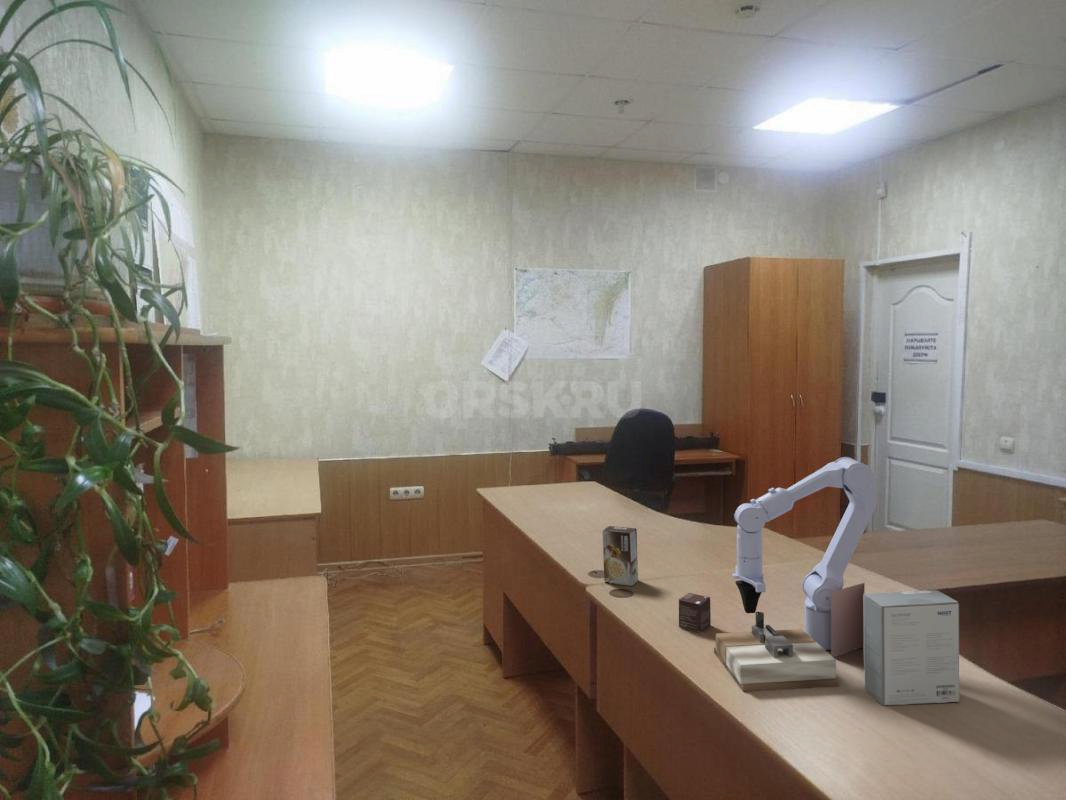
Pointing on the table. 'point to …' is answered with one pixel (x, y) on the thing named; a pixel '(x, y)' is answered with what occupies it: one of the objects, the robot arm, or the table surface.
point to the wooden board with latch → (775, 660)
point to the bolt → (762, 624)
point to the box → (694, 612)
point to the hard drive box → (911, 647)
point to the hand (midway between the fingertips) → (750, 612)
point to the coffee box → (620, 555)
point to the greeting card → (847, 619)
